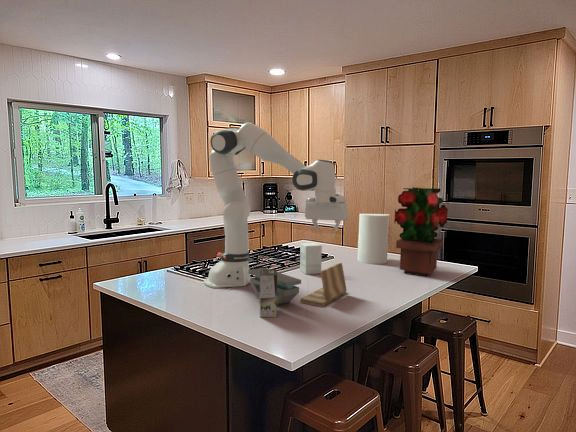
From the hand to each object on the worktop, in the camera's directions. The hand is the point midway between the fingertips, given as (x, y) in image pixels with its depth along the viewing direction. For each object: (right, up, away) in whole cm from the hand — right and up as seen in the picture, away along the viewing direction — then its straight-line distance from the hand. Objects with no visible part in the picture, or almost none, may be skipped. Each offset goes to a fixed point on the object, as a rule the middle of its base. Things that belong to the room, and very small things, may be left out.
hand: (326, 230), depth 188 cm
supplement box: (-5, -24, +43) cm, 50 cm away
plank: (+4, -21, -3) cm, 22 cm away
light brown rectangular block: (-1, -29, 0) cm, 29 cm away
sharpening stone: (-22, -29, -5) cm, 37 cm away
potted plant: (+53, -24, +48) cm, 76 cm away
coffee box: (-24, -31, -21) cm, 44 cm away
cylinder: (+34, -21, +73) cm, 83 cm away
